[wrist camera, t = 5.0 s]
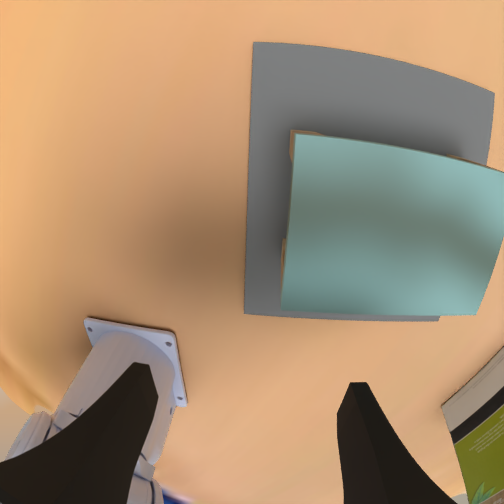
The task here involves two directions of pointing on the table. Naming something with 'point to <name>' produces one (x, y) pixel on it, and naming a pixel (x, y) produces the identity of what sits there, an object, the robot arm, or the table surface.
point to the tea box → (480, 432)
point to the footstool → (388, 229)
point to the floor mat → (344, 126)
